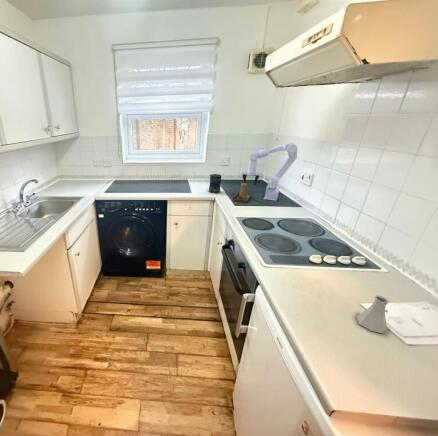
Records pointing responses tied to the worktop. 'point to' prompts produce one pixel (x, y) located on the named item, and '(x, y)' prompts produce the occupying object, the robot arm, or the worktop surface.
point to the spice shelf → (240, 199)
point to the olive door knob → (243, 190)
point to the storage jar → (215, 183)
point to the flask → (375, 315)
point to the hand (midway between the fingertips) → (249, 184)
